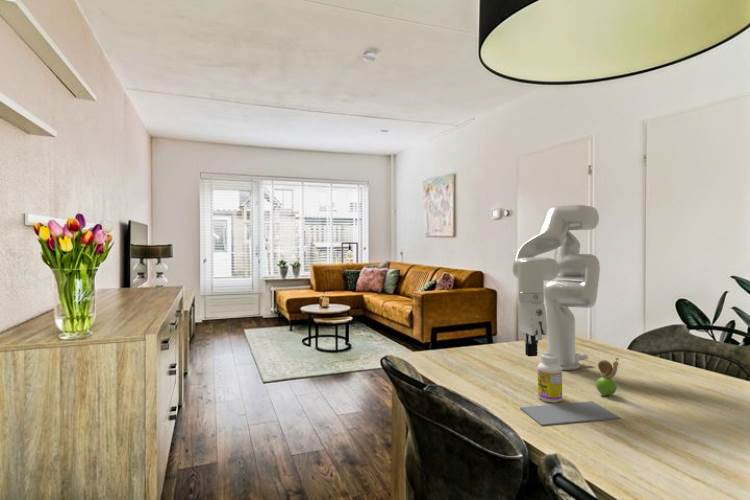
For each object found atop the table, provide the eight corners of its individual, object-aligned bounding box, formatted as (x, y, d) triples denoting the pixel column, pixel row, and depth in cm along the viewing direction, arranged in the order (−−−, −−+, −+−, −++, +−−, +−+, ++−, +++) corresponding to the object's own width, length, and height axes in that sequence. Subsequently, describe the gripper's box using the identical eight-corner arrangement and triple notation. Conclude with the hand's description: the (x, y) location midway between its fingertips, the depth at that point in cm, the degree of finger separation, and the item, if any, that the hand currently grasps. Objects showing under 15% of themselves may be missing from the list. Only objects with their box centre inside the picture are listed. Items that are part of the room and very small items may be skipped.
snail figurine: (612, 400, 121) (612, 359, 121) (592, 393, 127) (591, 354, 127) (624, 397, 124) (623, 356, 124) (603, 390, 130) (603, 351, 129)
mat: (592, 402, 120) (592, 401, 120) (619, 418, 109) (619, 417, 109) (520, 408, 117) (520, 407, 117) (541, 425, 106) (541, 424, 106)
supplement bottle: (534, 395, 127) (533, 353, 127) (555, 394, 127) (554, 352, 127) (544, 403, 120) (544, 359, 120) (566, 402, 121) (566, 358, 121)
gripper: (555, 300, 126) (555, 361, 126) (530, 294, 141) (530, 349, 141) (532, 301, 125) (532, 362, 125) (509, 295, 140) (509, 350, 140)
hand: (531, 355), depth 133 cm, fingers closed
